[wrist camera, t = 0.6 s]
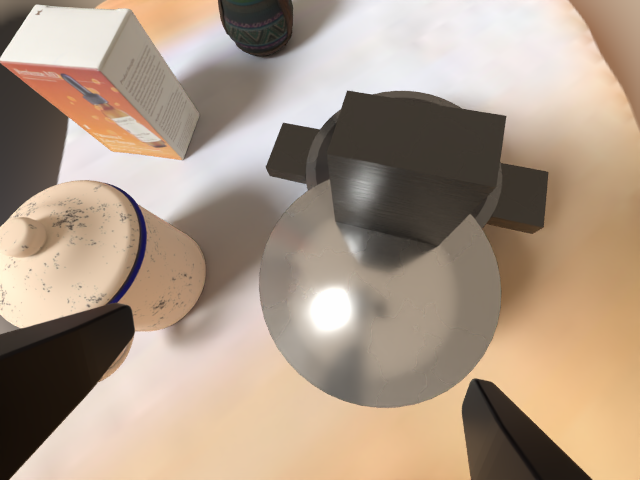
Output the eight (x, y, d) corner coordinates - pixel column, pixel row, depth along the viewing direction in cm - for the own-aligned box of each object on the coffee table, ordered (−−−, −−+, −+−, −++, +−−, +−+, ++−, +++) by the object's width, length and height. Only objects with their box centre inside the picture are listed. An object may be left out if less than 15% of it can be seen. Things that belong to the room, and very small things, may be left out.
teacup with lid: (120, 229, 27) (-39, 156, 16) (216, 226, 26) (119, 147, 15) (88, 373, 23) (-147, 407, 12) (199, 375, 23) (54, 413, 11)
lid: (473, 440, 15) (610, 556, 7) (233, 358, 17) (136, 376, 9) (503, 204, 18) (617, 108, 11) (301, 162, 21) (273, 57, 13)
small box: (112, 153, 30) (-7, 61, 20) (132, 107, 31) (32, 1, 21) (185, 162, 29) (97, 69, 19) (202, 114, 30) (130, 5, 20)
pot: (496, 306, 22) (541, 297, 17) (264, 245, 25) (241, 221, 20) (514, 157, 25) (556, 112, 20) (308, 120, 29) (299, 72, 23)
